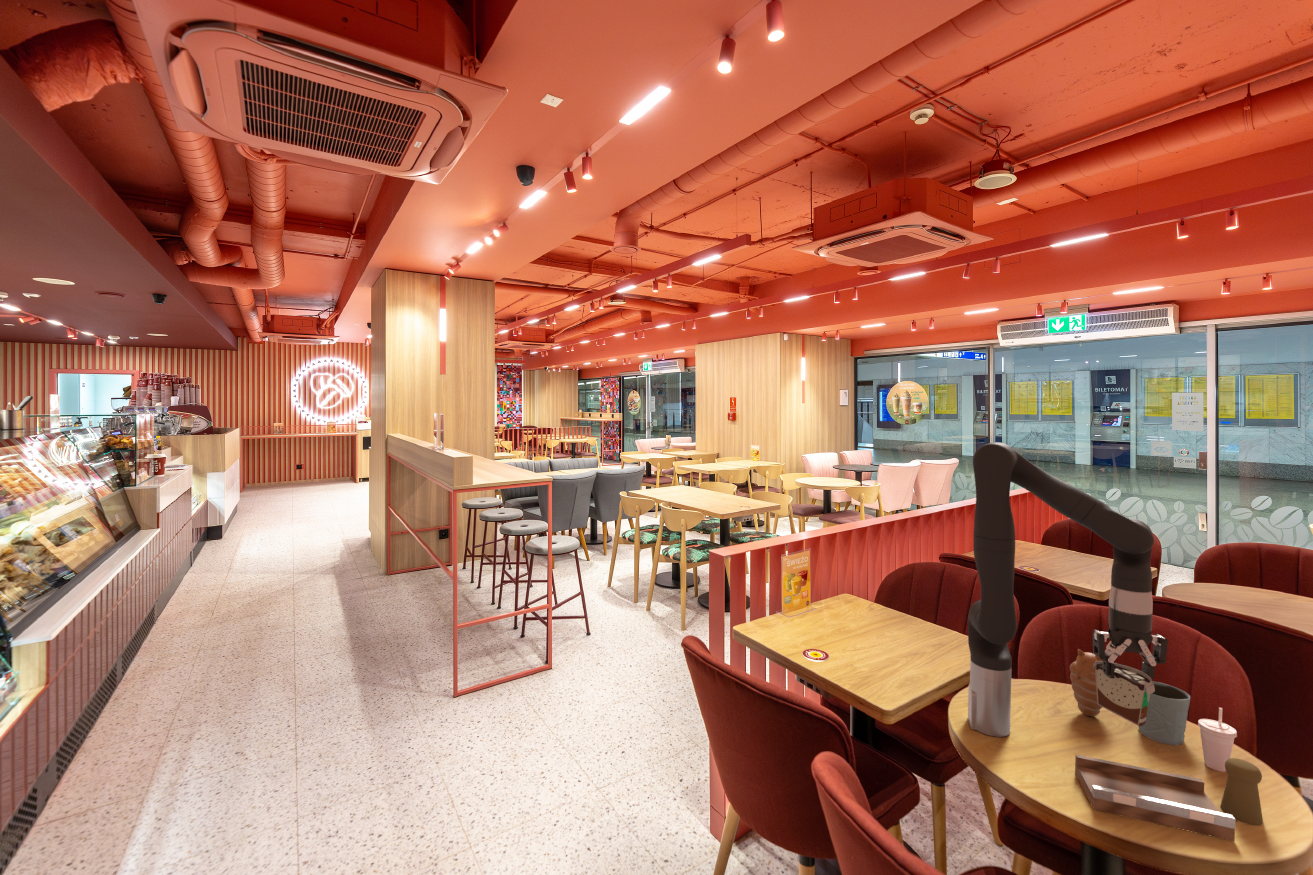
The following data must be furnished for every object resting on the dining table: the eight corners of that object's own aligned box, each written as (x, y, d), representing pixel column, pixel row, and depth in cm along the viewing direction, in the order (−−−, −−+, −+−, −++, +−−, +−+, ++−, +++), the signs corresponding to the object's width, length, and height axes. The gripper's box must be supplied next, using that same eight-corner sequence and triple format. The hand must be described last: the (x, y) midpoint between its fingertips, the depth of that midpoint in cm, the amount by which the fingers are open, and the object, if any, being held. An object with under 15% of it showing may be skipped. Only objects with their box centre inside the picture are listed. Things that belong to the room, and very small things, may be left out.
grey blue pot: (1130, 733, 141) (1131, 687, 140) (1140, 719, 147) (1141, 676, 146) (1184, 752, 133) (1186, 704, 132) (1192, 737, 139) (1194, 691, 138)
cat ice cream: (1068, 716, 148) (1070, 651, 148) (1068, 704, 155) (1070, 642, 154) (1110, 727, 143) (1112, 660, 142) (1108, 714, 149) (1110, 650, 149)
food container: (1168, 727, 120) (1170, 682, 119) (1145, 729, 119) (1147, 684, 118) (1112, 698, 132) (1113, 658, 132) (1091, 701, 131) (1092, 660, 130)
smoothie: (1243, 776, 123) (1246, 716, 123) (1210, 773, 125) (1212, 713, 124) (1220, 759, 130) (1222, 702, 129) (1189, 756, 131) (1191, 699, 130)
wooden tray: (1094, 810, 113) (1094, 789, 113) (1075, 773, 125) (1075, 754, 125) (1235, 842, 105) (1236, 819, 104) (1200, 799, 116) (1201, 779, 116)
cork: (1211, 804, 115) (1213, 754, 114) (1237, 803, 115) (1239, 752, 115) (1245, 826, 109) (1247, 772, 108) (1272, 824, 109) (1274, 771, 109)
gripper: (1104, 610, 122) (1102, 683, 123) (1179, 615, 119) (1176, 689, 120) (1085, 599, 130) (1083, 668, 130) (1155, 603, 127) (1153, 673, 127)
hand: (1128, 678), depth 125 cm, fingers closed on food container, 7 cm apart
